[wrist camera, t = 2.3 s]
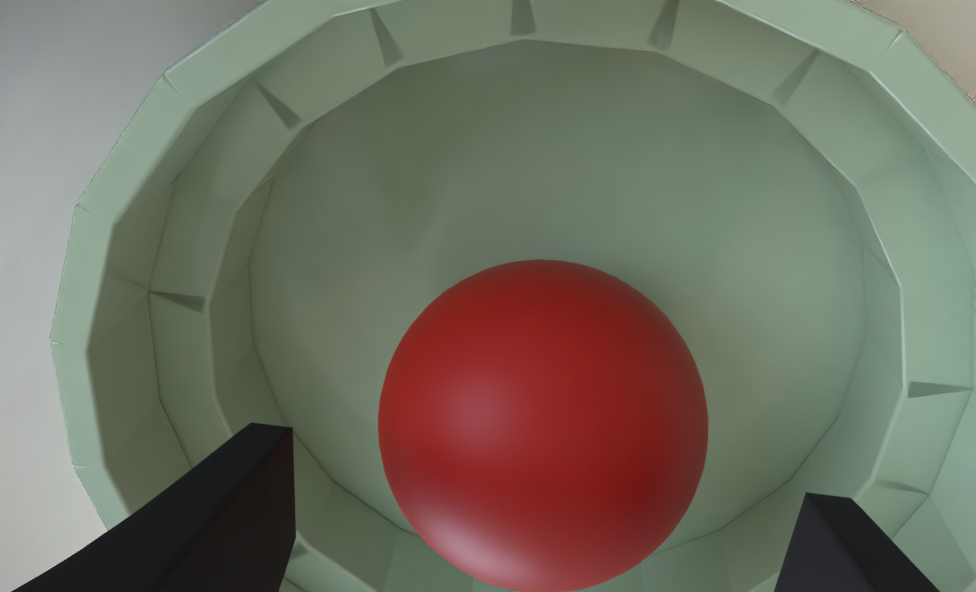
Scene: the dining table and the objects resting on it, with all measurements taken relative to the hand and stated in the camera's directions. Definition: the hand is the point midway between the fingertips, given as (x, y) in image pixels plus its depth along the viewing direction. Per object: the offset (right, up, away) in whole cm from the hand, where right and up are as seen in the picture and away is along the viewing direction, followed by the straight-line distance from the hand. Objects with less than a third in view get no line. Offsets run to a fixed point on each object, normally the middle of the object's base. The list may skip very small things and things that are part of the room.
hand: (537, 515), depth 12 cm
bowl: (+1, +2, +5) cm, 6 cm away
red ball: (0, +2, +5) cm, 5 cm away
